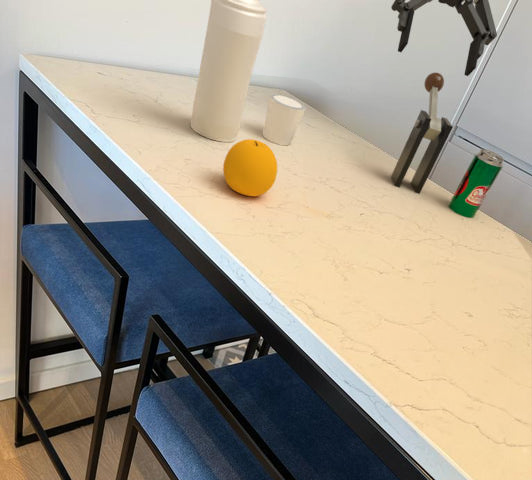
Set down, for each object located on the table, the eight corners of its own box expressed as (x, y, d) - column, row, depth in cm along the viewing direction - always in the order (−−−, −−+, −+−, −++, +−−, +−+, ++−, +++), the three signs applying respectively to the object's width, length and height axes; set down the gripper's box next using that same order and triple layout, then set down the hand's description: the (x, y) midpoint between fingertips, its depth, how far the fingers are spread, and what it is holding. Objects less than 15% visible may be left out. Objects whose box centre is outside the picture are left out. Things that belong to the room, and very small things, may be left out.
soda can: (457, 224, 102) (492, 160, 94) (439, 209, 105) (472, 146, 97) (475, 224, 104) (512, 162, 97) (457, 210, 107) (491, 149, 100)
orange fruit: (277, 206, 85) (293, 158, 80) (227, 200, 81) (241, 150, 77) (259, 180, 90) (273, 134, 85) (212, 174, 86) (224, 125, 82)
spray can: (252, 151, 99) (299, -12, 83) (196, 145, 93) (235, -31, 78) (225, 123, 106) (264, -33, 90) (172, 116, 100) (204, -51, 85)
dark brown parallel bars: (378, 175, 109) (410, 102, 101) (416, 187, 110) (451, 116, 102) (385, 197, 101) (421, 120, 93) (426, 209, 103) (465, 134, 94)
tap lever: (421, 80, 105) (430, 65, 102) (438, 86, 105) (447, 71, 102) (417, 138, 99) (427, 124, 96) (435, 144, 100) (445, 130, 97)
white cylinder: (270, 145, 104) (282, 106, 99) (252, 129, 108) (263, 91, 103) (300, 148, 107) (313, 111, 103) (282, 132, 111) (293, 95, 107)
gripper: (504, -7, 113) (485, 91, 110) (388, -52, 108) (365, 49, 106) (528, -35, 105) (509, 69, 103) (405, -85, 101) (381, 23, 99)
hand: (436, 59), depth 104 cm, fingers open, 13 cm apart
